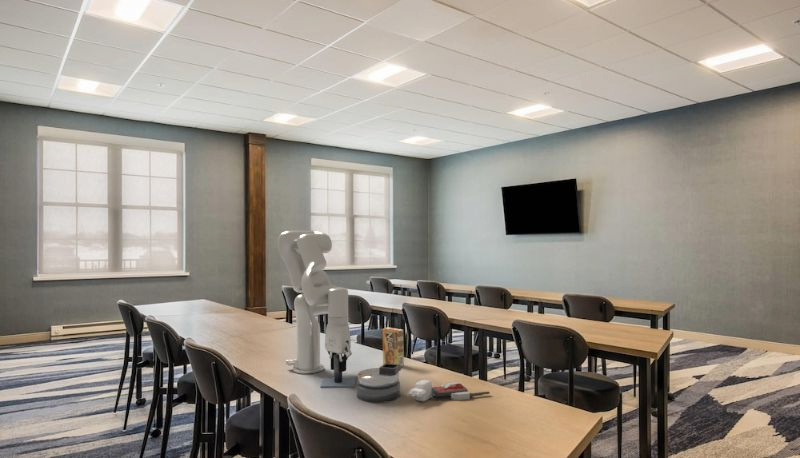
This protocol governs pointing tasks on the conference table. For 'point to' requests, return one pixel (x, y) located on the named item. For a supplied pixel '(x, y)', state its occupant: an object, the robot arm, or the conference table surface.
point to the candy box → (393, 346)
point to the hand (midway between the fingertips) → (338, 369)
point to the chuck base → (378, 394)
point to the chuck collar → (380, 377)
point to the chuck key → (337, 369)
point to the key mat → (331, 384)
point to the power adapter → (422, 390)
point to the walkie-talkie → (453, 392)
